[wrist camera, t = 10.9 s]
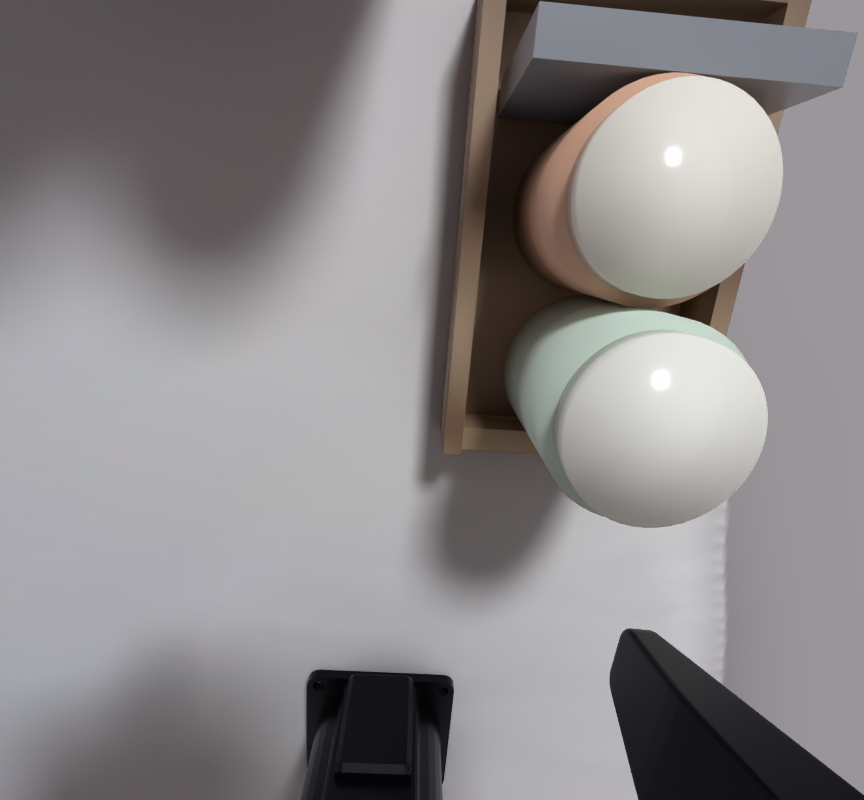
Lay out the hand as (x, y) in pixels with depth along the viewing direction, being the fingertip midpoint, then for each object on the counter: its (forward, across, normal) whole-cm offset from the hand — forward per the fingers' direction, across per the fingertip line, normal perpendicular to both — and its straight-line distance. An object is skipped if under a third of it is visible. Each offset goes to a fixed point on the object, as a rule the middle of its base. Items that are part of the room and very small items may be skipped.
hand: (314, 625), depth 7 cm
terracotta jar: (+11, -6, -7) cm, 15 cm away
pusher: (+12, -6, -10) cm, 17 cm away
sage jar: (+10, -6, -2) cm, 12 cm away
